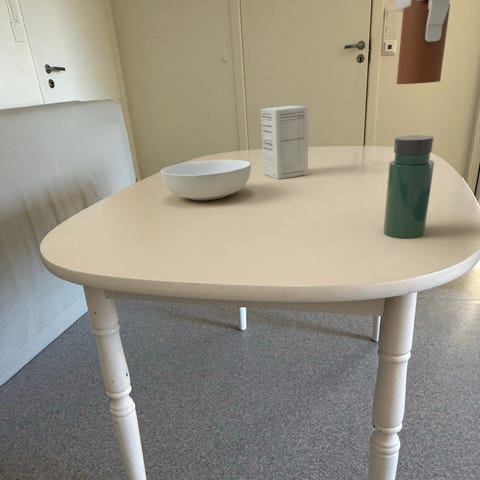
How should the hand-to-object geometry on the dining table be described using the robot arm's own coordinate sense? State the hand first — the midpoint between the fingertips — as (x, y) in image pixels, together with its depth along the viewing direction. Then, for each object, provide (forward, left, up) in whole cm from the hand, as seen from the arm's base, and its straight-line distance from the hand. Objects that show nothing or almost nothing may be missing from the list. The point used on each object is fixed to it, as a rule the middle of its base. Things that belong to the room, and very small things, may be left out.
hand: (422, 43), depth 61 cm
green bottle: (0, +1, -26) cm, 27 cm away
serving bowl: (+36, -33, -27) cm, 56 cm away
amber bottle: (0, 0, -5) cm, 5 cm away
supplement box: (+17, -54, -27) cm, 63 cm away
